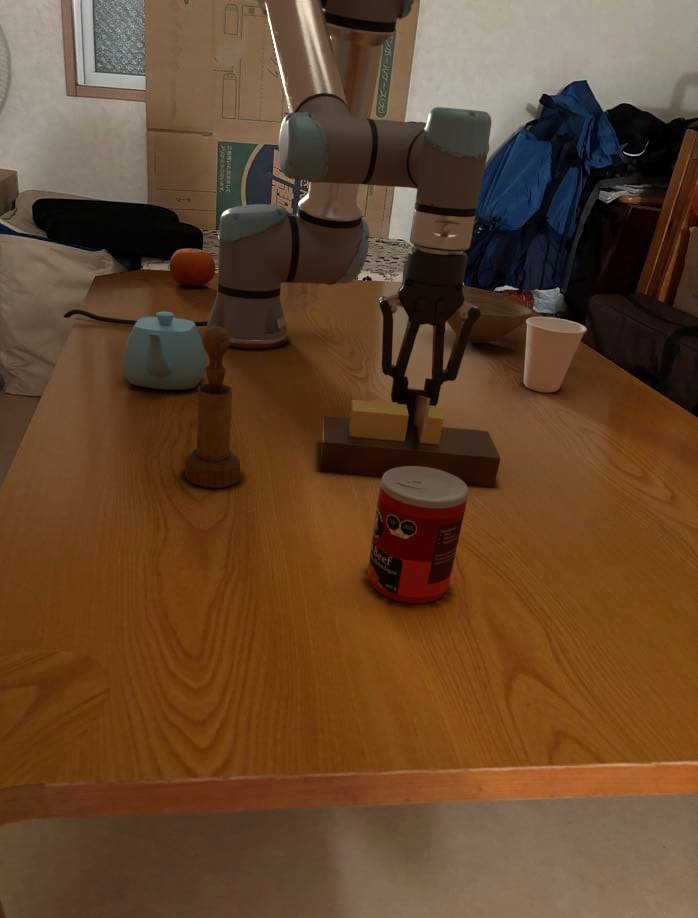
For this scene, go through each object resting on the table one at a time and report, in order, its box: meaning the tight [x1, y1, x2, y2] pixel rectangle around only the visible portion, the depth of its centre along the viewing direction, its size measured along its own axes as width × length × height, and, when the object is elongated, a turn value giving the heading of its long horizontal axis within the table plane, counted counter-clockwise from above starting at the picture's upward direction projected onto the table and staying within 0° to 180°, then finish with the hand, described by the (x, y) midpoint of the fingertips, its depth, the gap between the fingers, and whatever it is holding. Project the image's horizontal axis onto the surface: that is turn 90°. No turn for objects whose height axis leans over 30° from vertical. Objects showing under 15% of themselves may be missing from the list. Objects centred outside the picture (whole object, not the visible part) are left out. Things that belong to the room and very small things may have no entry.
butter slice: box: [418, 406, 444, 445], centre depth 98 cm, size 2×4×4 cm, turn 176°
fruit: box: [169, 247, 216, 287], centre depth 181 cm, size 11×10×8 cm
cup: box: [522, 316, 588, 393], centre depth 132 cm, size 10×10×11 cm
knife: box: [405, 387, 430, 431], centre depth 102 cm, size 19×3×5 cm, turn 176°
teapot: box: [122, 310, 207, 391], centre depth 119 cm, size 13×11×18 cm
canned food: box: [367, 466, 469, 604], centre depth 73 cm, size 8×8×11 cm
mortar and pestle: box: [184, 327, 241, 489], centre depth 89 cm, size 7×6×18 cm
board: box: [319, 415, 501, 488], centre depth 100 cm, size 22×9×4 cm, turn 87°
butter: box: [349, 399, 409, 441], centre depth 98 cm, size 7×4×4 cm, turn 87°
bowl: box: [446, 294, 533, 344], centre depth 156 cm, size 18×18×8 cm
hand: (409, 425), depth 108 cm, fingers closed on knife, 3 cm apart
